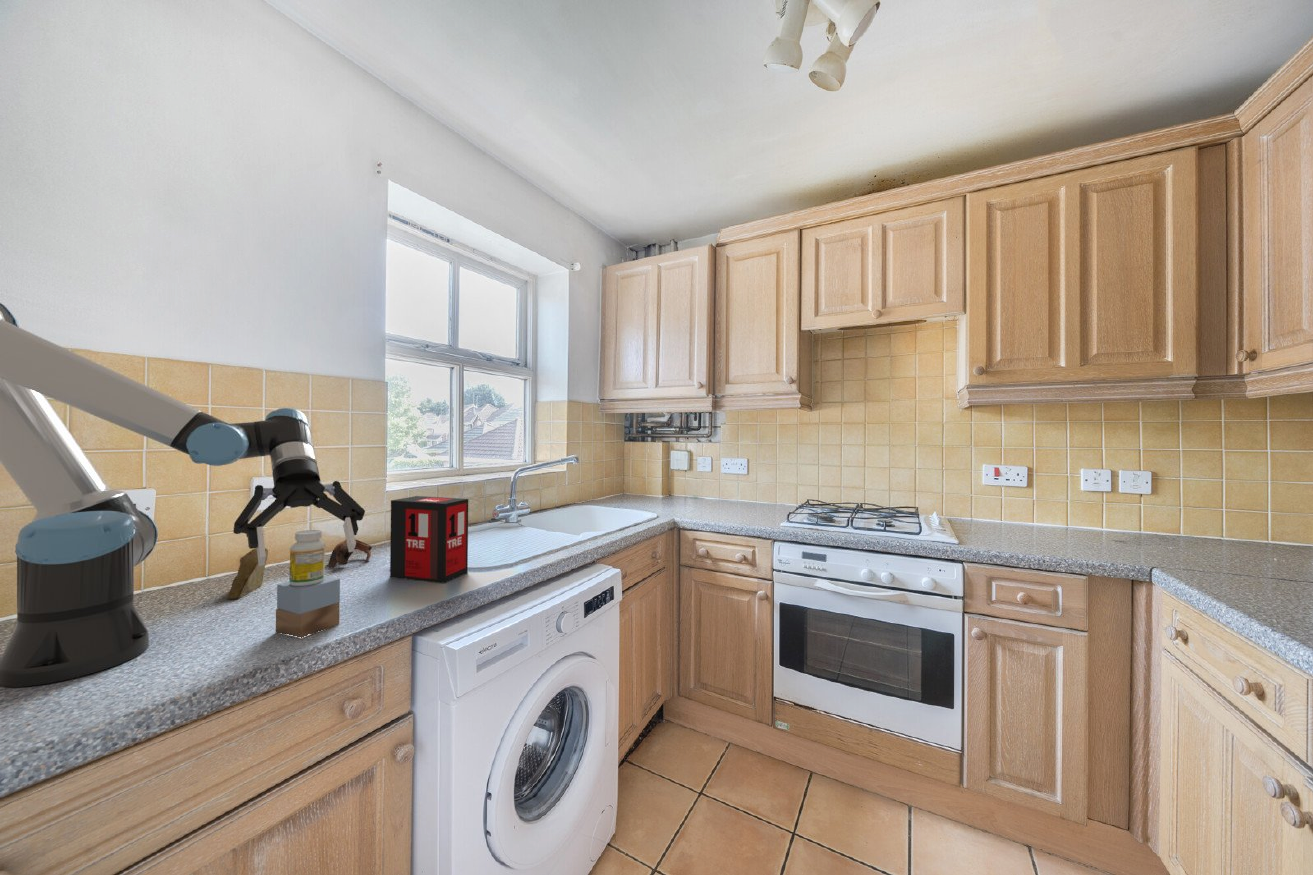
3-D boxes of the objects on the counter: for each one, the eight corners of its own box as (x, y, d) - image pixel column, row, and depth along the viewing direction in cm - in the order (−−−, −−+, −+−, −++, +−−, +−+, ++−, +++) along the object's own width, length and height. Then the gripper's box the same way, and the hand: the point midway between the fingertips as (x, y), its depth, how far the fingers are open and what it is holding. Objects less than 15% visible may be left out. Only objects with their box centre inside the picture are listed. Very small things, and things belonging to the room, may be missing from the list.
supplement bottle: (318, 585, 85) (320, 534, 85) (283, 587, 84) (285, 535, 84) (328, 576, 90) (330, 528, 90) (296, 579, 89) (297, 529, 89)
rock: (244, 591, 100) (287, 571, 110) (220, 560, 100) (264, 543, 110) (214, 616, 102) (259, 595, 112) (190, 586, 102) (237, 567, 112)
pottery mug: (330, 562, 133) (347, 535, 136) (363, 575, 135) (379, 548, 138) (316, 562, 122) (335, 533, 125) (352, 576, 124) (370, 547, 127)
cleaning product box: (390, 577, 118) (390, 500, 118) (416, 567, 127) (416, 495, 127) (444, 583, 114) (445, 503, 114) (467, 573, 123) (468, 498, 123)
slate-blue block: (300, 614, 83) (300, 589, 83) (276, 608, 86) (277, 584, 86) (339, 601, 89) (339, 578, 89) (316, 596, 92) (317, 574, 92)
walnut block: (301, 639, 83) (301, 614, 83) (275, 633, 85) (275, 609, 85) (339, 624, 90) (339, 601, 89) (314, 619, 92) (314, 596, 92)
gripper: (360, 477, 106) (380, 553, 96) (211, 484, 88) (216, 580, 78) (367, 455, 103) (388, 532, 93) (213, 458, 85) (219, 555, 74)
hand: (310, 554), depth 85 cm, fingers open, 13 cm apart
